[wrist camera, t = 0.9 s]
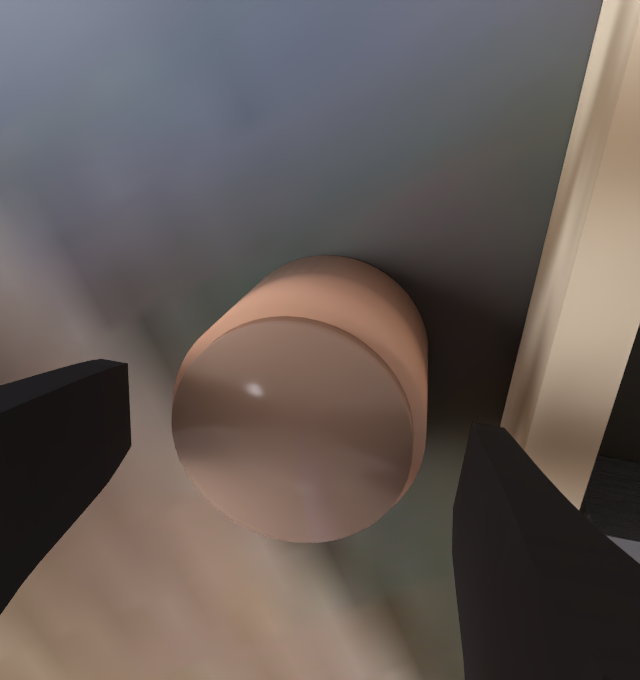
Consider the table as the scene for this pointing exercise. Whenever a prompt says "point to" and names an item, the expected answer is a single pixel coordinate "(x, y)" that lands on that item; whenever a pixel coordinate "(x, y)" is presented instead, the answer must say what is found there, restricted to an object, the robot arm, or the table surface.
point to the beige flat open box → (586, 270)
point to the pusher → (615, 502)
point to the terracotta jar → (307, 402)
